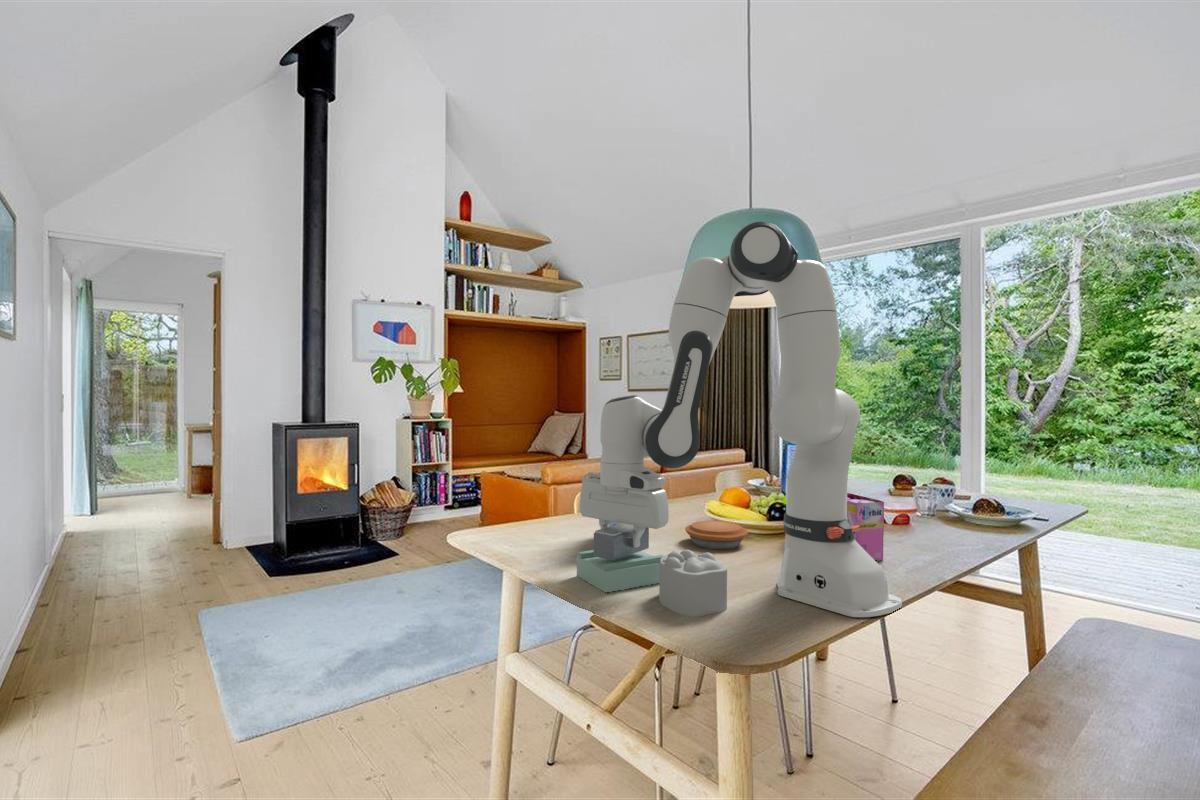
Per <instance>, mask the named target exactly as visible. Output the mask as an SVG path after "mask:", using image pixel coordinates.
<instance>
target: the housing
mask: <svg viewBox="0 0 1200 800" xmlns="http://www.w3.org/2000/svg"><path fill="white" fill-rule="evenodd" d="M635 532H636V531H634V525H630V524H624V523H621V524H618V525H614V526H611V527H607V528H604V529H601V528H600V529H598V530H597V529H596V530H595V531H594V532H593V550H594V556H595V557H599V558H604V559H608V560H613V561H615V560H617V559H620V558H623V557H626V556H628V555H631V554H634V553H637V552H639V551H642V552H643V551H644V550H647V549H649V547H650V544H649V542H650V528H647V527H645V531H644V533H643V534H642V536H641V538H640V546H639V547H637V548H635V547H630V546H629V543H630V542H629V538H632V537H633V536H634V534H635Z"/></svg>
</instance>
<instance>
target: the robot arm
mask: <svg viewBox="0 0 1200 800" xmlns="http://www.w3.org/2000/svg"><path fill="white" fill-rule="evenodd" d="M767 292H769V293H770V294H771V295H772V297H773V300H774V303H775V307H776V321H777V329H778V330H777V332H778V339H779V340H778V341H779V350H780V351H779V353H780V368H779V378H778V385H777V387H778V388H777V393H776V398H775V401H774V402H773V404H772V406H771V408H770V414H769V419H770V424H771V428H772V429H773V431H774V432H775V434H776V435H777V436H778V437H779V438H781V439H782V440H784V441H786V442H787V443H791V444H794V445H796V447H795V451H794V454H793V458H792V461H791V464H790V466H789V468H788V470H787V473H786V504H785V510H786V511H785V513H783V521H782V524H783V532H784V534H785V537H784V539H785V540H784V547H783V552H782V553H783V555H782V558H781V565H780V566H781V567H780V570H779V575H778V578H777V581H776V586H777V588H778V589H777V595H778V596H780V597H783V598H787V599H791V600H793V601H797V602H800V603H803V604H807V605H810V606H814V607H817V608H819V609H820V608H821V609H824V610H827V611H830V612H834V613H837V614H839V615H840V614H841V615H844V616H847V617H850V618H871V617H879V616H884V615H888V614H890V613H894V612H896V611H898V610H900V609H901V608H902V607H903V601H902V600H903V599H902V598H900V597H899V596H896V595H893V594H891V593H890V592H889V587H888V585H889V584H888V578H887V575H886V572H885V570H884V568H883V566H882V565H880V564H879V562H878V561H875V560H874V559H873V558H872V557H871V556H870V555H869V554H868V553H867V552H866V551H865V550H864V549H863V548H862V547H861V546H860V545H859V544H858V543H857V542H856V541H855V535H854V532H857V531H860V530H855V529H856V528H858V527H860V526H859V525H856V526H851V523H850V521H849V518H848V517H847V493H848V480H849V479H848V478H849V477H848V476H849V470H850V464H851V459H852V454H853V449H854V442H855V436H856V430H857V427H858V426H859V422H860V420H861V411H860V407H859V404H858V403H857V401H856V400H855V399H854V398H853V397H852V396H851V395H849V394H848V393H846V392H845V391H844V390H842V389H839V388H836V384H837V383H836V382H837V381H836V379H837V372H838V371H837V370H838V364H839V360H840V357H841V355H842V348H841V340H840V331H839V329H840V328H839V322H838V312H837V304H836V298H835V294H834V289H833V285H832V281H831V278H830V275H829V272H828V270H827V268H826V267H825V265H824V264H822V263H821V262H820V261H817V260H814V259H813V260H812V259H799V253H798V250H796V248H795V247H794V246H793V244H792V243H791V242H790V241H789V239H788V237H787V236H786V234H785V233H784V231H782V229H781V228H779V226H777V225H776V224H774V223H772V222H768V221H754V222H752V223H749V224H748V225H745V226H744V227H742V229H740V231H739V232H737V234H736V235H735V237H734V238H733V240H732V242H731V245H730V251H729V253H728V254H727V255H726V256H724V257H718V258H717V257H712V256H703V257H698V258H696V259H695V260H693V261H692V262H691V263H690V264H689V265H688V267H687V269H686V271H685V273H684V276H683V278H682V280H681V283H680V284H679V286H678V289H677V293H676V296H675V299H674V302H673V306H672V310H671V313H670V318H669V327H668V335H667V336H668V341H669V344H670V346H671V350H672V352H673V353H672V354H673V369H672V373H671V378H670V381H669V385H668V390H667V393H666V396H665V401H664V405H663V408H662V409H661V408H659V407H656V406H654V405H653V404H651V403H649V402H647V401H646V400H645V399H643V398H642V397H641V396H639V395H635V394H633V395H624V396H621V397H616V398H611V399H610V400H608V401H607V402H606V403H605V404H604V405H603V408H602V411H601V417H600V434H599V436H600V438H599V439H600V443H601V456H600V460H599V461H600V462H599V464H600V465H599V467H600V468H599V471H600V472H599V473H598V472H597V473H596V472H587V473H586V474H584V476H583V477H582V479H581V489H580V494H579V496H580V498H579V504H578V505H579V509H578V511H579V513H580V515H581V517H585V518H591V519H595V520H596V519H597V520H598V526H599V528H600V529H604V528H607V527H609V524H610V523H611V521H613V522H618V523H624V524H630V525H634V531H636V532H635V534H634V536H633V537H632V538H629V542H630V543H629V546H630V547H635V548H637V547H639V546H640V538H641V536H642V534H643V533H644V531H645V527H647V528H649V529H654V530H658V529H662V528H664V527H665V526H667V525H668V522H669V500H668V495H667V492H666V490H665V489H664V488H663V487H666V484H667V482H666V481H667V479H666V477H665V476H664V475H662V474H660V473H658V472H656V471H653V470H651V469H650V468H648V467H646V466H645V457H646V458H647V457H650V459H651V460H652V461H653V462H654V463H656V465H659V466H660V467H663V468H665V469H666V468H667V469H678V468H679V469H680V468H682V467H684V466H686V465H688V464H689V463H690V462H691V461H693V460H694V458H695V457H696V456H697V454H698V452H699V450H700V445H701V436H700V429H699V423H698V414H699V409H700V403H701V399H702V396H703V395H702V394H703V391H704V386H705V383H706V378H707V374H708V370H709V366H710V363H712V362H711V361H712V359H713V357H714V355H715V351H716V349H717V347H718V344H719V342H720V339H721V337H722V336H723V332H724V329H725V326H726V322H727V318H728V315H729V312H730V309H731V304H732V302H733V299H734V297H747V296H760V295H763V294H766V293H767ZM899 608H900V609H899ZM897 609H898V610H897ZM895 610H896V611H895ZM893 611H894V612H893Z"/></svg>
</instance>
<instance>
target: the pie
mask: <svg viewBox="0 0 1200 800" xmlns="http://www.w3.org/2000/svg"><path fill="white" fill-rule="evenodd" d="M684 530H685V532H686V533H687V535H689V538H690V540H691V541H692V543H693V545H695V546H697V547H700V548H704V549H709V548H710V550H711V549H712V550H730V549H729V548H731V549H735V548H737V547H739V546H740V545H741V542H742V541H743V539H744V538H745V537H746V536H747V535H748V534H749V531H748V530H747V529H746V528H745V527H743V526H742V525H740V524H738V523H734V522H729V521H724V520H701V521H696V522H692V523H691V524H689V525H687V526H685V528H684Z"/></svg>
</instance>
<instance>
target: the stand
mask: <svg viewBox="0 0 1200 800" xmlns="http://www.w3.org/2000/svg"><path fill="white" fill-rule="evenodd" d="M663 556H664V555H663V554H657V555H656V554H655V555H651V554H649V553H647V552H645V551H643V550H642V551H639V552H637V553H634V554H631V555H628V556H626V557H623V558H620V559H617V560H615V561H613V560H608V559H604V558H599V557H595V556H594V549H592V550H585V551H584V550H583V551H578V552H577V556H576V577H577V578H579V577H580V578H579V579H581V578H582V579H581V580H583V581H584V580H585V582H586V581H587V583H588V584H590V585H591V584H592V585H591V586H593V585H594V586H593V587H595V588H596V587H597V589H598V588H599V589H598V590H599V591H601V590H602V591H601V592H603V591H604V593H605V592H606V593H605V594H608V593H607V592H610V593H613V592H612V591H616V592H618V591H617V590H621V591H624V590H623V589H627V590H629V589H628V588H632V589H634V588H633V587H637V588H640V587H639V586H643V587H646V586H645V585H648V586H652V585H651V584H653V585H657V584H656V583H659V578H660V559H661V558H662V557H663Z"/></svg>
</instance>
